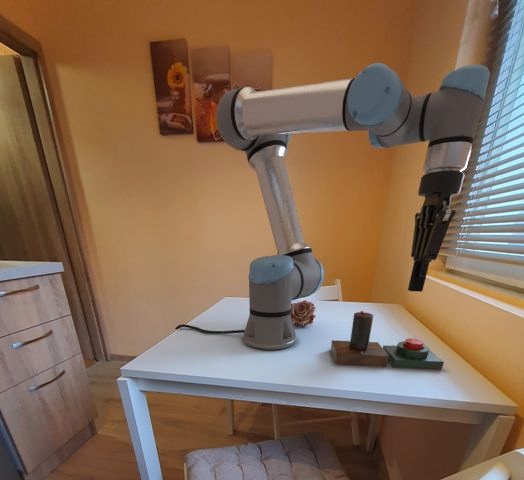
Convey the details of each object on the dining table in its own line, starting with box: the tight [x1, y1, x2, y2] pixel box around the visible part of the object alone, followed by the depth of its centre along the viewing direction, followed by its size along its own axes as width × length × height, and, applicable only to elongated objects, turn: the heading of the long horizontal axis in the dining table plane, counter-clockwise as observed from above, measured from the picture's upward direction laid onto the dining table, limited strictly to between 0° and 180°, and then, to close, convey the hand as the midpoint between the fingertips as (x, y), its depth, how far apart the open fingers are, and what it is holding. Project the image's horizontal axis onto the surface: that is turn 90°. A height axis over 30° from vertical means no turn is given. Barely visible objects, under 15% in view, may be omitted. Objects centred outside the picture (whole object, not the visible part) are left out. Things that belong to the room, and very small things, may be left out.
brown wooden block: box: [330, 339, 389, 368], centre depth 70 cm, size 12×9×3 cm
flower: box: [291, 299, 317, 327], centre depth 95 cm, size 10×9×8 cm
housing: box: [382, 340, 445, 371], centre depth 69 cm, size 11×9×4 cm
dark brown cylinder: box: [349, 310, 374, 351], centre depth 68 cm, size 4×4×9 cm
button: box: [404, 337, 425, 350], centre depth 68 cm, size 4×4×2 cm
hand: (414, 290), depth 65 cm, fingers closed
